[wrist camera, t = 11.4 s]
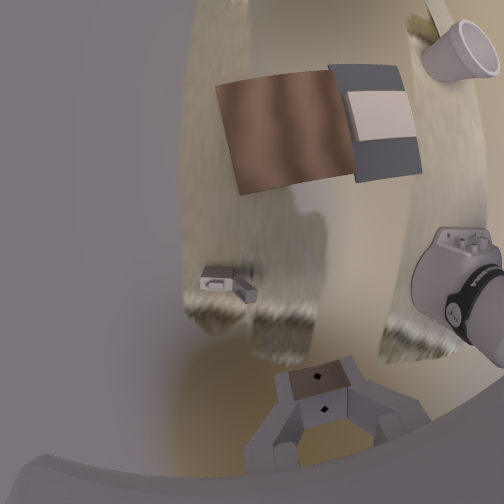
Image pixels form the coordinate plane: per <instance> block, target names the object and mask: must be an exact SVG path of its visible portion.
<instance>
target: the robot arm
mask: <svg viewBox="0 0 504 504" xmlns="http://www.w3.org/2000/svg"><path fill="white" fill-rule="evenodd" d="M447 234H448V236H447ZM412 299H413V302H414V305H415V307H416V308H417V309H418V310H419V311H420V312H422V313H424V314H426V315H428V316H430V318H431V319H432V321H433V322H435V323H436V324H440V323H441V324H442V325H444V326H445V327H447V328H448V329H450V330H451V331H453V332H455V333H456V334H457V335H458V336H459V337H460V338H462V340H463V341H464V342H467V343H468V344H469V345H474V346H475V347H476V348H477V349H478V350H479V351H481V352H482V353H483V354H484V355H485V356H486V357H487V358H488V359H489V360H490V361H491V362H493V364H495V365H496V366H497V367H500V368H504V271H503V270H502V258H501V253H500V250H499V249H498V247H496V246H495V245H493V244H492V241H491V236H490V233H489V231H488V230H486V229H479V228H440V229H439V230H438V232H437V234H436V236H435V238H434V241H433V243H432V245H431V246H430V248H429V249H428V250H427V251H426V252H425V254H424V255H423V257H422V258H421V260H420V261H419V263H418V265H417V268H416V270H415V273H414V276H413V281H412ZM288 373H289V374H288ZM275 381H276V388H277V394H278V401H279V404H277V405H275V406H274V407H273V409H272V410H271V412H270V413H269V415H268V416H267V417H266V419H265V420H264V422H263V423H262V425H261V426H260V428H259V429H258V431H257V432H256V433H255V435H254V436H253V437H252V439H251V440H250V441H249V443H248V444H247V445H246V447H245V475H244V476H231V477H209V478H208V477H207V478H191V477H190V478H189V477H165V476H153V475H143V474H135V473H127V472H121V471H115V470H110V469H104V468H99V467H95V466H90V465H86V464H82V463H78V462H74V461H71V460H67V459H64V458H61V457H57V456H54V455H50V454H43V455H40V456H39V457H37V458H35V459H34V460H32V461H30V462H29V463H27V464H26V465H24V466H23V467H22V468H21V469H20V470H19V472H18V474H17V476H16V478H15V480H14V482H13V485H12V487H11V489H10V492H9V494H8V497H7V500H6V503H5V504H504V376H502V377H501V378H500V379H498V380H497V381H496V382H494V383H493V384H492V385H490V386H489V387H488V388H486V389H485V390H483V391H482V392H480V393H479V394H477V395H476V396H475V397H473V398H471V399H470V400H468V401H467V402H465V403H463V404H462V405H460V406H458V407H457V408H455V409H453V410H452V411H450V412H448V413H446V414H444V415H443V416H441V417H439V418H437V419H435V420H433V421H431V419H430V418H429V416H428V415H427V413H426V412H425V410H424V409H423V407H422V406H421V404H420V403H419V401H418V400H416V399H414V398H411V397H409V396H406V395H404V394H401V393H399V392H396V391H394V390H392V389H389V388H387V387H384V386H382V385H380V384H377V383H375V382H372V381H370V380H368V381H365V379H364V377H363V375H362V374H361V372H360V370H359V368H358V366H357V365H356V363H355V361H354V359H353V358H352V356H347V357H344V358H340V359H338V360H335V361H331V362H327V363H324V364H320V365H317V366H312V367H308V368H303V369H299V370H294V371H289V372H285V373H280V374H275ZM344 418H348V419H349V420H350V421H352V422H353V423H355V424H356V425H358V426H359V427H360V428H362V429H363V430H365V431H366V432H368V433H370V434H371V435H373V436H374V437H375V439H374V443H373V447H371V448H369V449H366V450H363V451H360V452H357V453H354V454H351V455H348V456H344V457H340V458H337V459H333V460H330V461H326V462H322V463H318V464H313V465H309V466H304V467H300V463H299V458H298V454H297V449H296V447H297V445H298V443H299V441H300V439H301V436H302V434H303V432H304V429H307V428H310V427H314V426H318V425H321V424H325V423H329V422H332V421H336V420H340V419H344Z"/></svg>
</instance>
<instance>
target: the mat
mask: <svg viewBox="0 0 504 504" xmlns="http://www.w3.org/2000/svg"><path fill="white" fill-rule="evenodd" d="M328 68H329V70H333V73H334V77H335V80H336V83H337V87H338V90H339V94H340V97H341V96H342V95H344V94H345V93H346V92H353V91H405V89H404V86H403V83H402V80H401V76H400V73H399V70H398V68H397V66H392V65H372V64H371V65H370V64H336V65H335V64H334V65H328ZM341 101H342V98H341ZM342 105H343V101H342ZM343 109H344V105H343ZM344 112H345V109H344ZM345 116H346V113H345ZM346 120H347V117H346ZM347 125H348V121H347ZM348 129H349V125H348ZM349 133H350V129H349ZM350 138H351V133H350ZM351 142H352V138H351ZM352 147H353V152H354V157H355V162H356V167H357V173H354V176H355V182H356V183H360V182H367V181H372V180H379V179H386V178H392V177H399V176H406V175H414V174H421V173H422V167H421V160H420V154H419V149H418V143H417V138H416V137H410V138H397V139H385V140H374V141H364V142H355V143H353V142H352Z"/></svg>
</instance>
